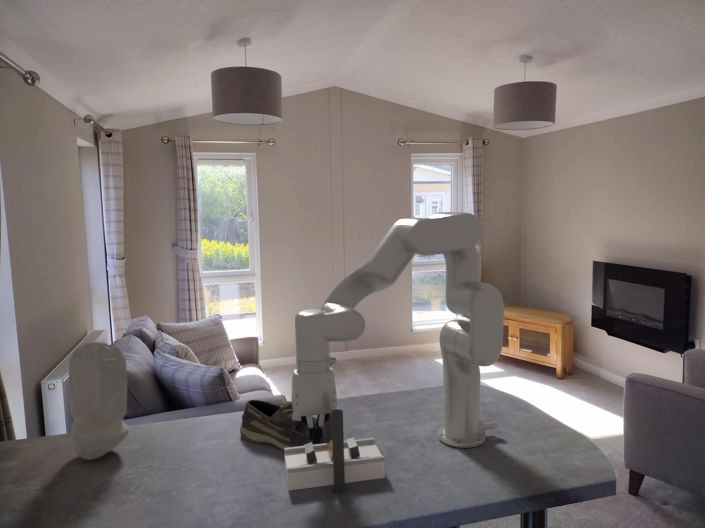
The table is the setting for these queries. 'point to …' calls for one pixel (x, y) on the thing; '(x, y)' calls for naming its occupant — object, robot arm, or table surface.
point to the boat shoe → (274, 425)
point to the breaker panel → (322, 469)
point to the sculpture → (97, 398)
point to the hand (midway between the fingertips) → (315, 441)
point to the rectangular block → (331, 448)
